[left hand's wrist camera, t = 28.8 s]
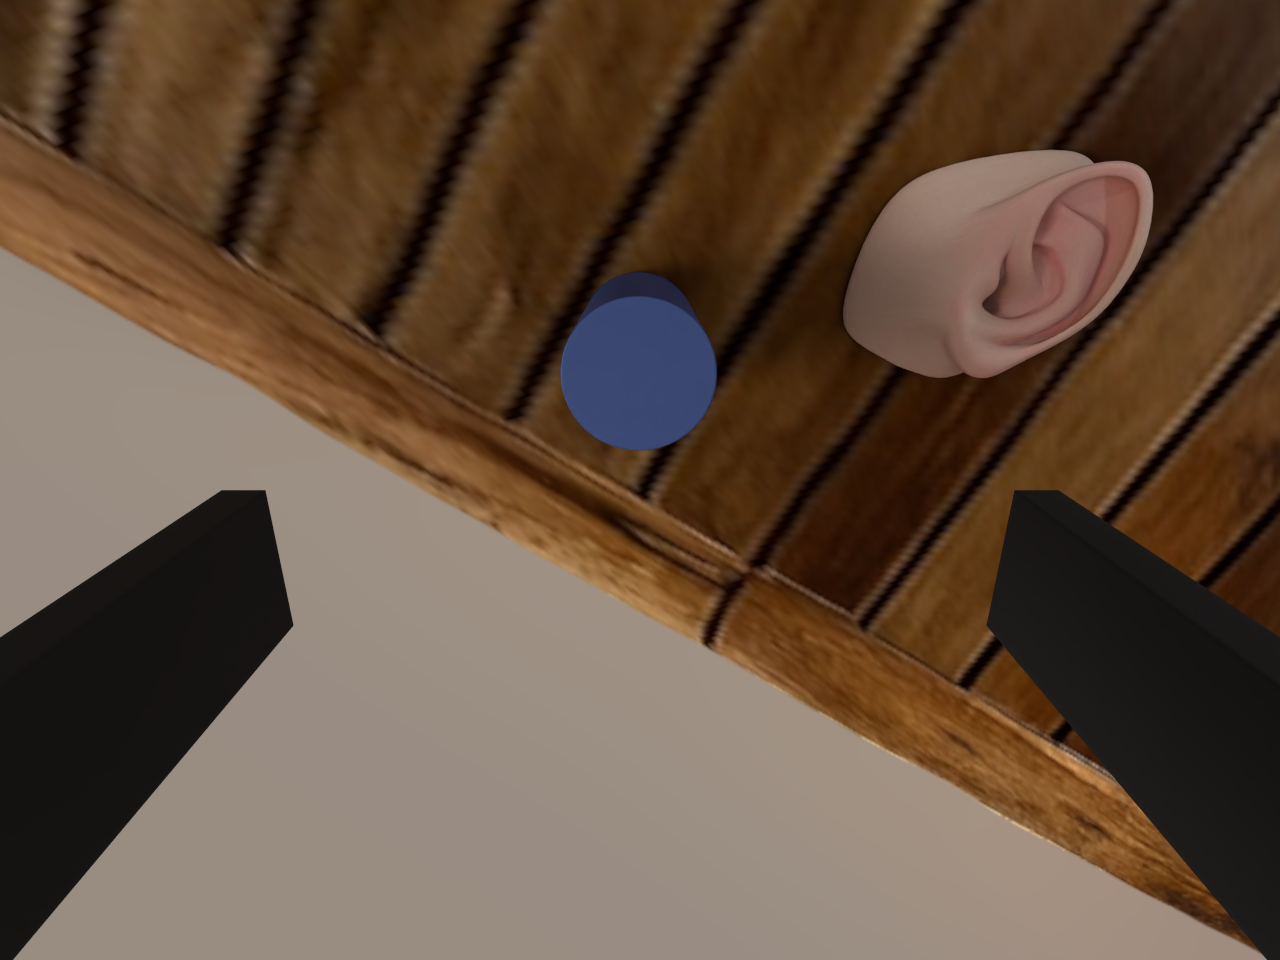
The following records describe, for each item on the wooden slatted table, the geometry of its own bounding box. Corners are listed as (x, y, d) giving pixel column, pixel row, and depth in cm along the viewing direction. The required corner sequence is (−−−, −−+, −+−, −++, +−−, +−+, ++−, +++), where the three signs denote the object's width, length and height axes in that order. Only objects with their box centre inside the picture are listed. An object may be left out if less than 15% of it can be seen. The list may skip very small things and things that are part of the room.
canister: (658, 249, 37) (666, 263, 26) (715, 349, 38) (744, 402, 28) (561, 310, 38) (529, 349, 27) (620, 405, 40) (613, 477, 29)
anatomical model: (855, 392, 35) (887, 139, 31) (834, 375, 39) (860, 147, 35) (1118, 395, 35) (1184, 143, 31) (1072, 378, 39) (1126, 151, 35)
